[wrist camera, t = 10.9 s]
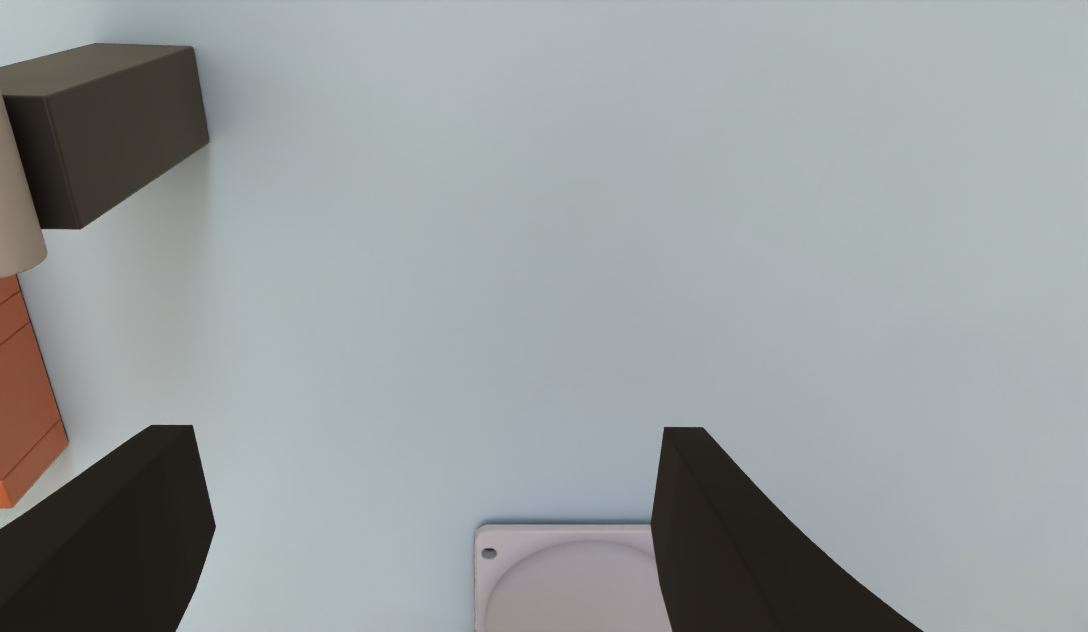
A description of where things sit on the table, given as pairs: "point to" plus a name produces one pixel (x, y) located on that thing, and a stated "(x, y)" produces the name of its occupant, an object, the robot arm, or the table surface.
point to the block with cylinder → (89, 136)
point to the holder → (23, 402)
